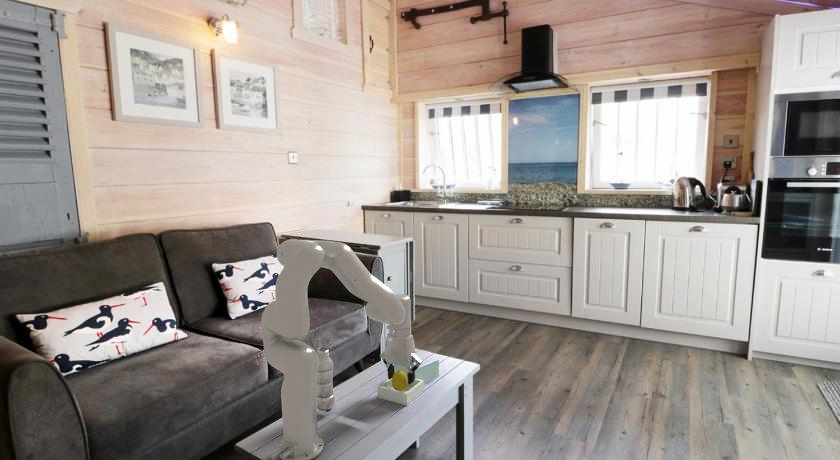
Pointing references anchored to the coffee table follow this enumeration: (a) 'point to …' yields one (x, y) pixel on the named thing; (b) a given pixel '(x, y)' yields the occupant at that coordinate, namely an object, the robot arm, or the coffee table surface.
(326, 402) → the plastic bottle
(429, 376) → the l-shaped corner panel
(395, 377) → the lemon
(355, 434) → the coffee table surface
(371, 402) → the coffee table surface
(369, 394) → the coffee table surface
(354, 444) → the coffee table surface
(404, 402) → the bin
